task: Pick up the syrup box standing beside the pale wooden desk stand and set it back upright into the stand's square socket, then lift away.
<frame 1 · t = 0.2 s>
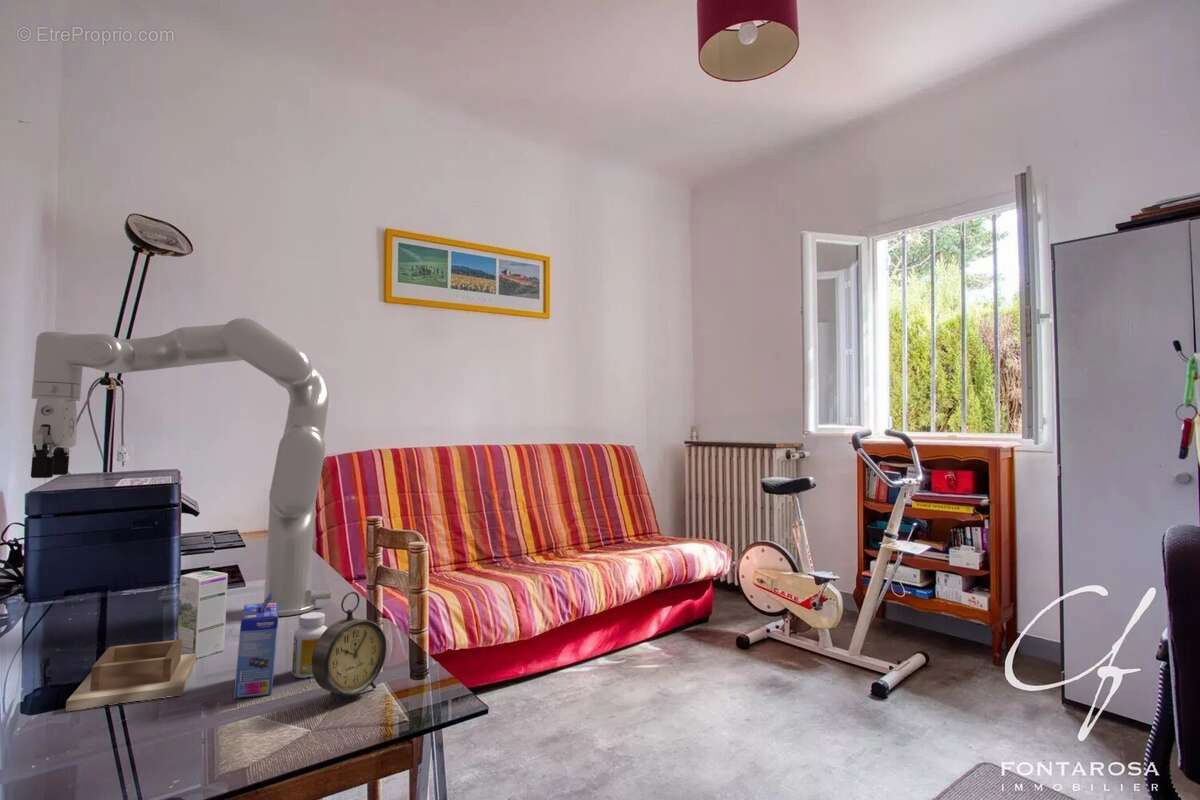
hand: (49, 476, 126), 31 cm above the table, tool pointing down, fingers open, 9 cm apart
ink cartridge box: (255, 687, 100), on the table
supplement bottle: (309, 674, 106), on the table
syrup box: (199, 654, 114), on the table
desk stand: (137, 684, 100), on the table
alarm clock: (346, 698, 97), on the table
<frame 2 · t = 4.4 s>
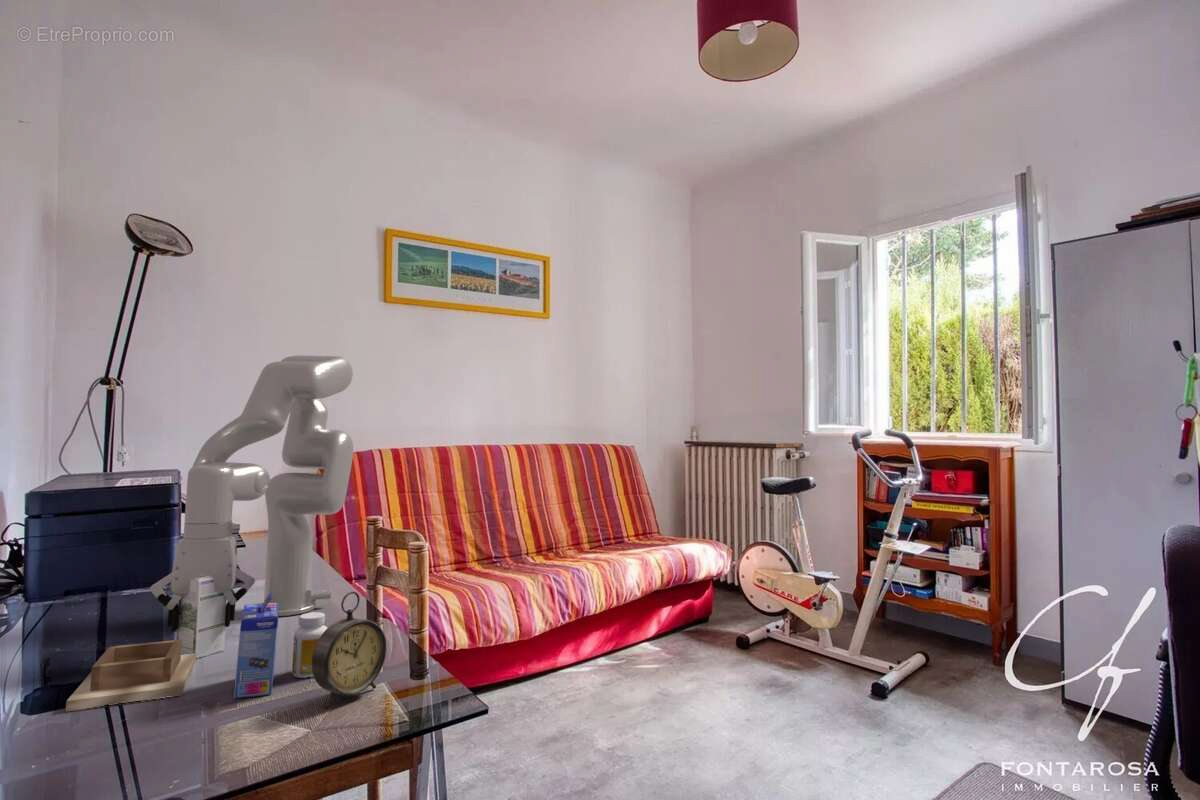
hand: (201, 626, 115), 5 cm above the table, tool pointing down, fingers closed on syrup box, 7 cm apart
syrup box: (199, 654, 114), on the table, touching gripper
everything else where it was.
when the fingers open (7 cm above the table, at t = 11.7 s): syrup box drops 1 cm, resting on desk stand.
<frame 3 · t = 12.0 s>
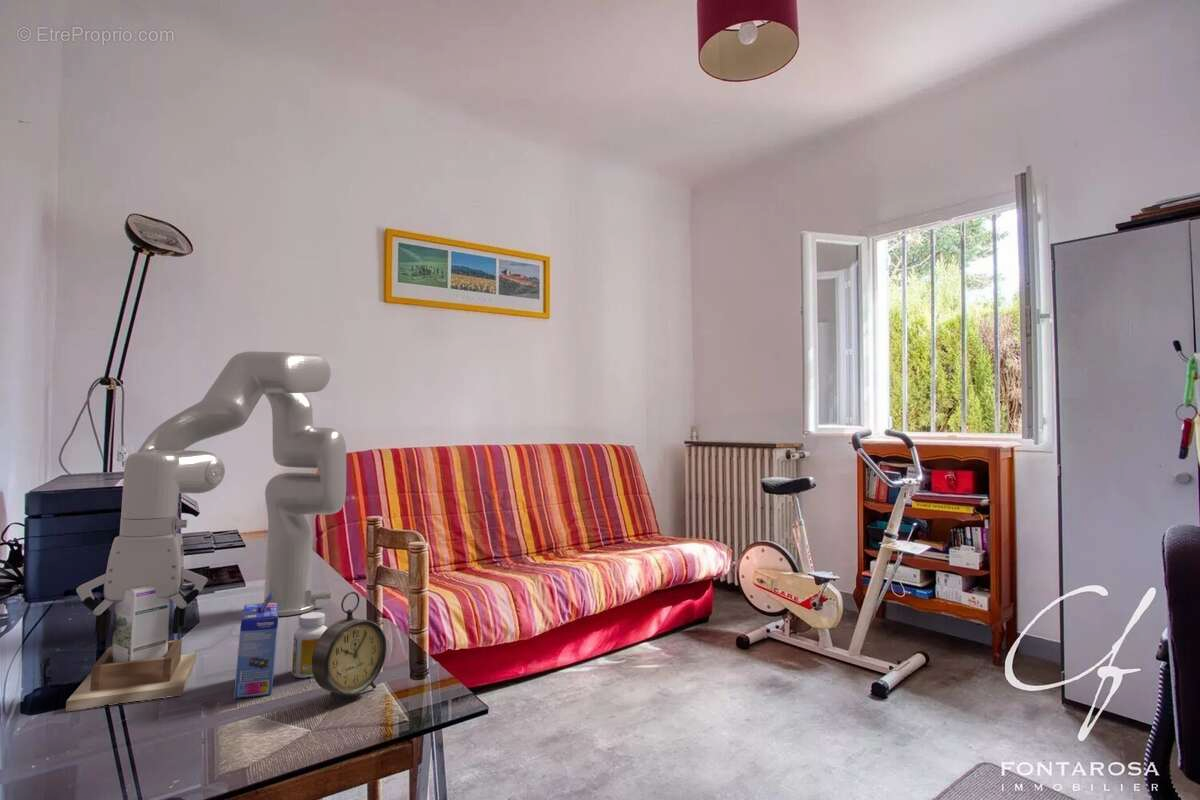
hand: (141, 634, 100), 8 cm above the table, tool pointing down, fingers open, 9 cm apart
syrup box: (138, 676, 100), point 1 cm above the table, touching desk stand
everything else where it was.
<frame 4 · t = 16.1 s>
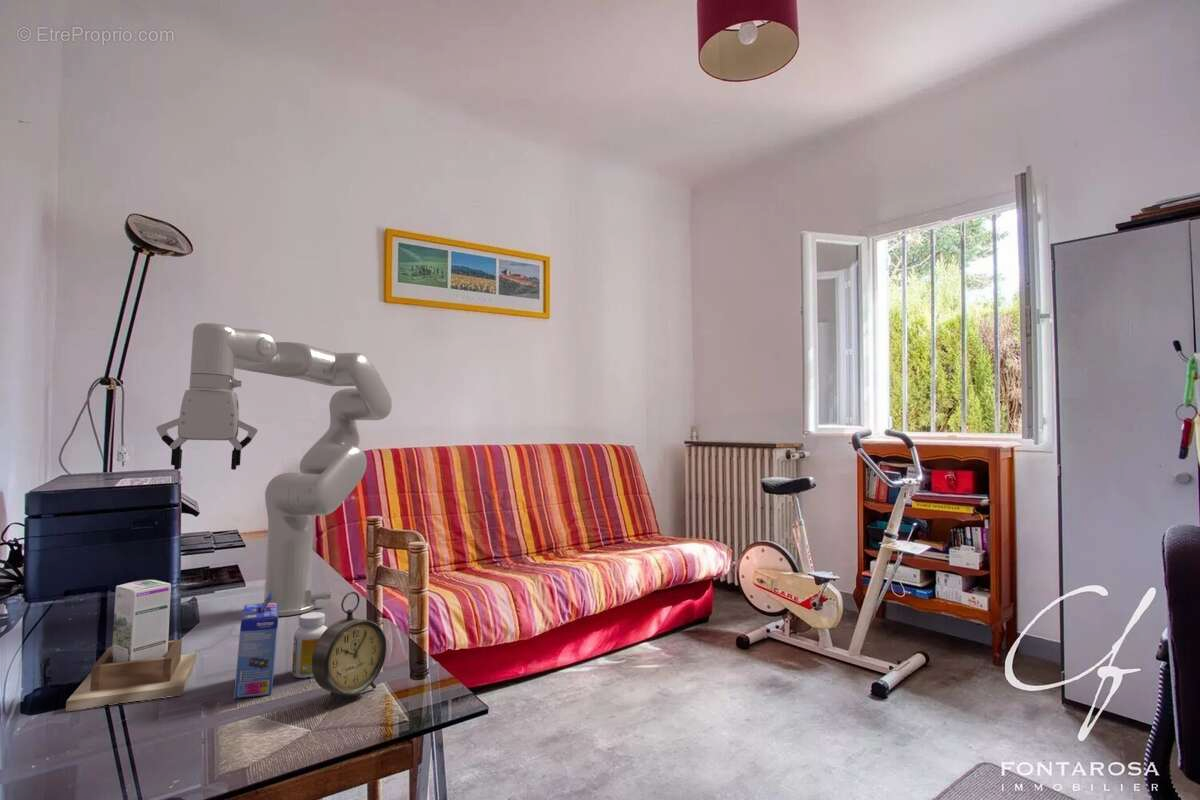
hand: (206, 469, 125), 33 cm above the table, tool pointing down, fingers open, 9 cm apart
nothing on the table moved.
at the end: syrup box 0.1 cm off-centre on the desk stand, point 1.3 cm above the desk stand's base; syrup box tilted 0°; the gripper is holding nothing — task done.
